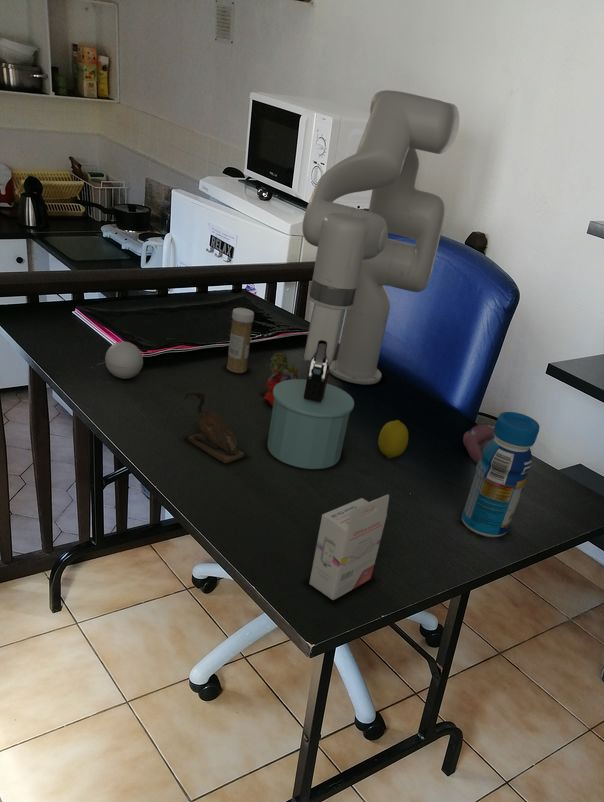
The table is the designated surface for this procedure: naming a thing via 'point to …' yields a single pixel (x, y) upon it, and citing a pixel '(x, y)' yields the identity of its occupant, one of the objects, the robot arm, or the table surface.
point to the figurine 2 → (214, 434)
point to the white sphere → (124, 360)
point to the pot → (305, 438)
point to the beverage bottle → (501, 475)
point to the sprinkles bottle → (240, 340)
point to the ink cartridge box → (348, 546)
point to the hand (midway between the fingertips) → (314, 391)
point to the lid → (330, 406)
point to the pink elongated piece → (478, 440)
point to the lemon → (393, 439)
